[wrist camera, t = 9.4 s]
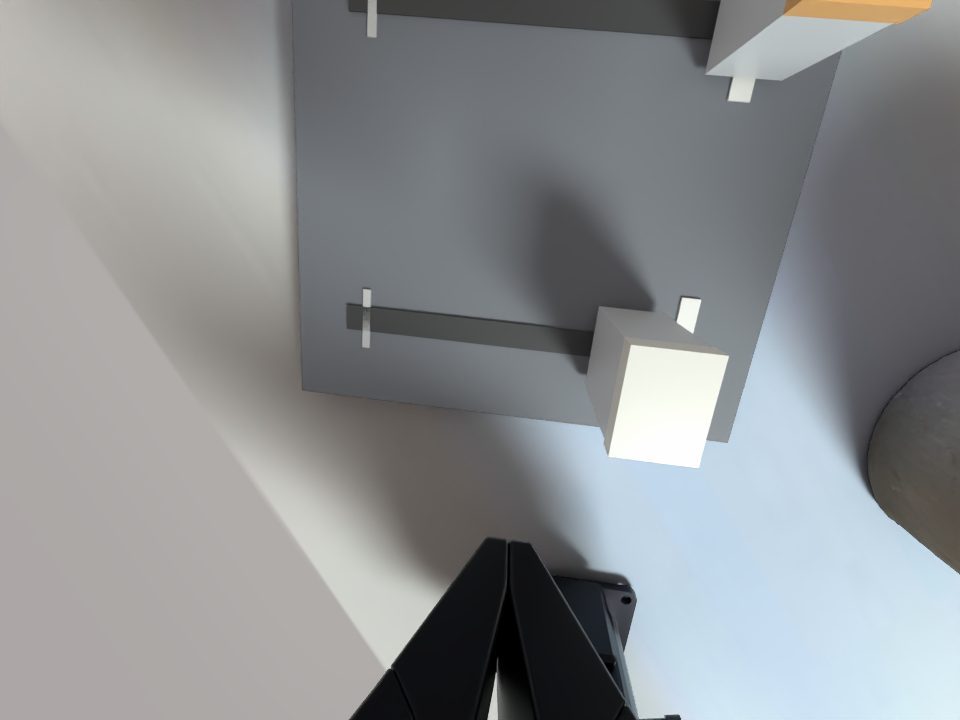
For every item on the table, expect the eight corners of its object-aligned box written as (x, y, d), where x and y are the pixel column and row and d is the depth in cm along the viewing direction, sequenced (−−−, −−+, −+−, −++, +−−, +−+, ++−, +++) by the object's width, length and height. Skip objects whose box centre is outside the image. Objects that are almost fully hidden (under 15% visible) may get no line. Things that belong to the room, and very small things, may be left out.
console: (716, 429, 20) (728, 443, 19) (314, 380, 21) (301, 391, 20) (859, -85, 15) (891, -112, 13) (305, -119, 16) (286, -147, 14)
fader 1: (647, 393, 18) (698, 468, 13) (583, 386, 18) (608, 456, 13) (665, 311, 17) (729, 355, 12) (597, 304, 17) (631, 345, 12)
